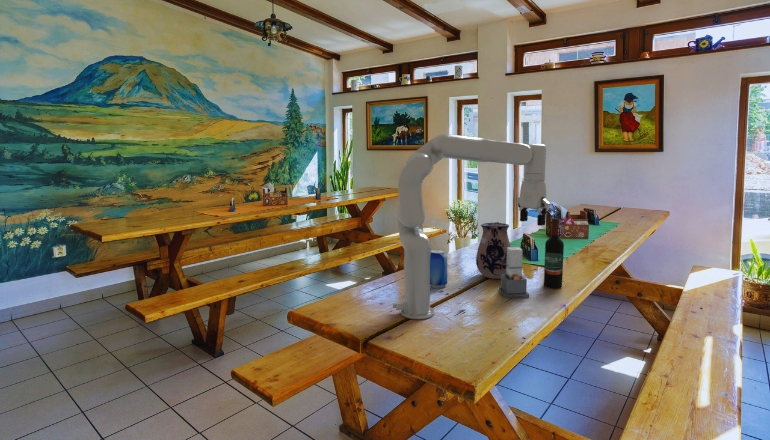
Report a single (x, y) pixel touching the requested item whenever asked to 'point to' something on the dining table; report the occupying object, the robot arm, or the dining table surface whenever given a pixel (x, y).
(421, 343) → the dining table surface
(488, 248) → the ceramic pitcher
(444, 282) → the beer can
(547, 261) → the wine bottle
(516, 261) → the column
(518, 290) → the stand base
